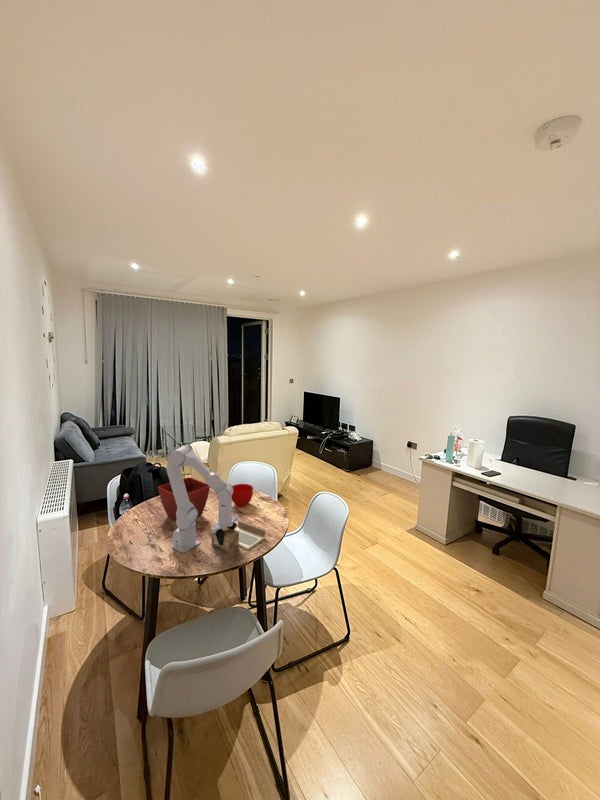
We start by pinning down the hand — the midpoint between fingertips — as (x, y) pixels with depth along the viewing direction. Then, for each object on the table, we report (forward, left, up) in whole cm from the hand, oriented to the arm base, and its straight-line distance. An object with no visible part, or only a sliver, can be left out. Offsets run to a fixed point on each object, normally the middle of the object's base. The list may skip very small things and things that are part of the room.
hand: (224, 541), depth 142 cm
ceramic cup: (+36, +25, -3) cm, 44 cm away
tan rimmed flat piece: (+10, -2, -2) cm, 10 cm away
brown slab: (0, 0, -2) cm, 3 cm away
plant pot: (+9, +38, -3) cm, 39 cm away
